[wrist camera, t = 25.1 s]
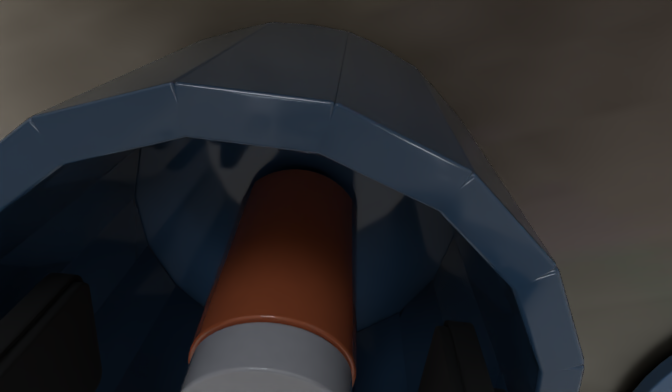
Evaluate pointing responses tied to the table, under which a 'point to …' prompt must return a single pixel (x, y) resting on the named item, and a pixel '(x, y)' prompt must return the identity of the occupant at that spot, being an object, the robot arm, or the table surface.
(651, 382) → the canister lid
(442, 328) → the robot arm
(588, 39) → the table surface
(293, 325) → the pill bottle
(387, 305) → the canister
